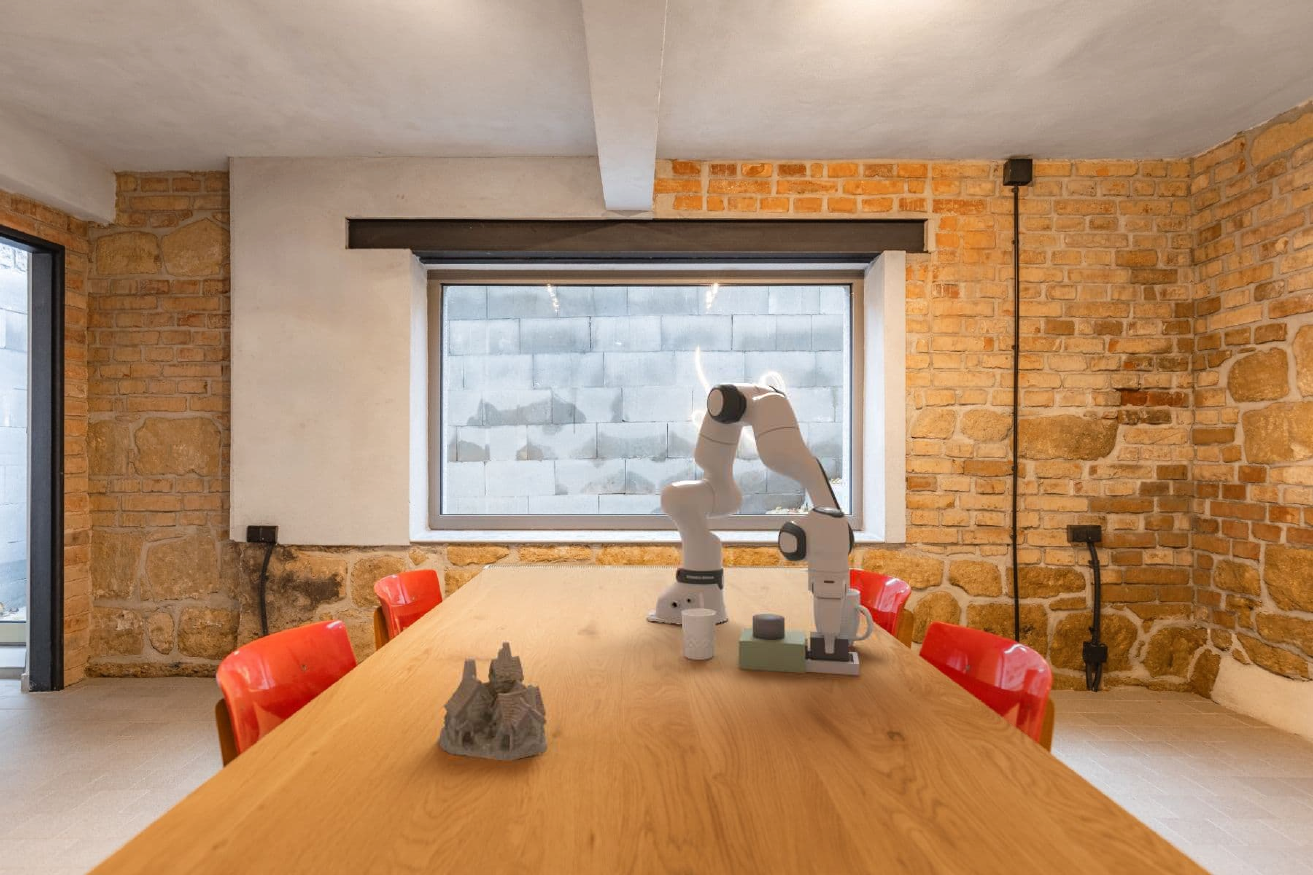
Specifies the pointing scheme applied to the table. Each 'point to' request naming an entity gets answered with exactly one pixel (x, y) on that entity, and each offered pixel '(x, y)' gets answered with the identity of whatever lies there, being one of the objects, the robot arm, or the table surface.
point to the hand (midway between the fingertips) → (829, 646)
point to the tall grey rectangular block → (819, 648)
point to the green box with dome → (784, 650)
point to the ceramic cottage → (495, 713)
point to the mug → (850, 617)
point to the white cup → (698, 633)
